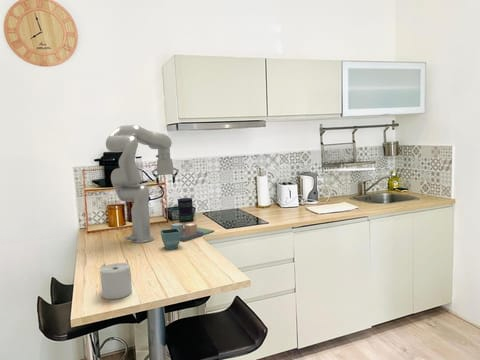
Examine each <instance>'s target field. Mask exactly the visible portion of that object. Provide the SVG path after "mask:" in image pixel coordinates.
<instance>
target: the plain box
mask: <svg viewBox="0 0 480 360" xmlns="http://www.w3.org/2000/svg"><path fill="white" fill-rule="evenodd" d="M175 228H177V229H178V230H179V231H180V236H183V235H184V231H183V228H184V223H181V222H177V223H176V222H175V223H173V224H170V229H175Z"/></svg>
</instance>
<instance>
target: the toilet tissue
mask: <svg viewBox="0 0 480 360" xmlns="http://www.w3.org/2000/svg"><path fill="white" fill-rule="evenodd" d="M99 272H100V273H99V275H100V284H101V285H100V286H101V296H102V298H104V299H106V300H117V299H123V298H126V297H128V296H129V295H131V293H132V292H133V289H132V287H133V286H132V274H131V273H132V272H131V265H130V264H129V263H125V262H116V263H111V264H107V265H106V263H103V264H102V265H101V266H100V268H99Z"/></svg>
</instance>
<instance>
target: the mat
mask: <svg viewBox="0 0 480 360" xmlns="http://www.w3.org/2000/svg"><path fill="white" fill-rule="evenodd" d="M197 231H201V232H203V236H205V235H209V234H211V233H215V230H213V229H209V228H202V227H198V226H197Z"/></svg>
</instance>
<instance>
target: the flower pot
mask: <svg viewBox="0 0 480 360" xmlns="http://www.w3.org/2000/svg"><path fill="white" fill-rule="evenodd" d="M160 236H161V241H162V243H163V246H164V247H165V248H166V250H172V249H178V247H179V244H180V242H181V241H180V231H179V230H178V229H177V228H175V229H171V228H168V229H161V230H160Z"/></svg>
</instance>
